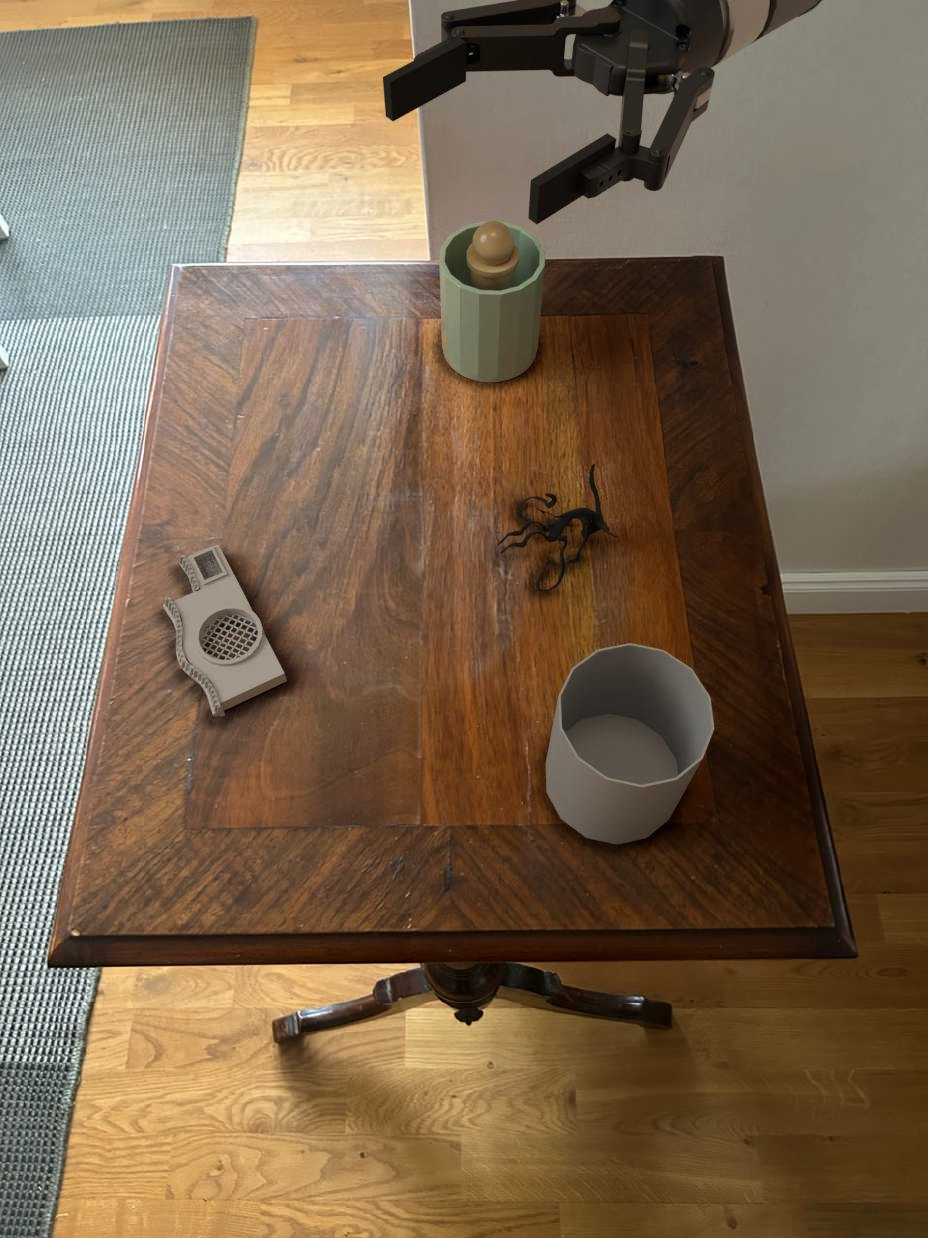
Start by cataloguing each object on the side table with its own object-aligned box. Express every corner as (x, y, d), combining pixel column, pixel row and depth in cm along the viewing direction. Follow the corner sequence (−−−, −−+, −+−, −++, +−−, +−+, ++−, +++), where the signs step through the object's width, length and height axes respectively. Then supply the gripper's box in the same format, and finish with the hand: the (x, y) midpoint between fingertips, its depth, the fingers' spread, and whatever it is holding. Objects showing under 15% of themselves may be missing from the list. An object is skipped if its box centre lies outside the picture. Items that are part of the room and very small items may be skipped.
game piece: (524, 339, 80) (531, 226, 71) (489, 364, 79) (493, 252, 70) (490, 314, 82) (494, 200, 72) (456, 338, 80) (455, 225, 71)
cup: (687, 732, 64) (722, 661, 56) (671, 857, 61) (705, 801, 52) (557, 705, 65) (571, 631, 57) (532, 825, 61) (543, 766, 53)
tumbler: (538, 314, 83) (545, 222, 75) (536, 384, 79) (544, 295, 71) (445, 310, 83) (443, 219, 75) (439, 380, 79) (436, 292, 71)
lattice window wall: (223, 551, 71) (143, 585, 70) (217, 536, 70) (135, 571, 68) (291, 685, 66) (207, 725, 65) (287, 673, 65) (200, 714, 63)
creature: (515, 608, 70) (626, 577, 69) (500, 570, 66) (620, 537, 65) (493, 516, 74) (599, 486, 73) (478, 475, 69) (590, 442, 69)
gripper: (813, 150, 69) (594, 300, 62) (555, -2, 78) (339, 113, 71) (849, 41, 62) (610, 194, 55) (563, -112, 71) (326, 3, 64)
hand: (457, 149), depth 63 cm, fingers open, 13 cm apart
